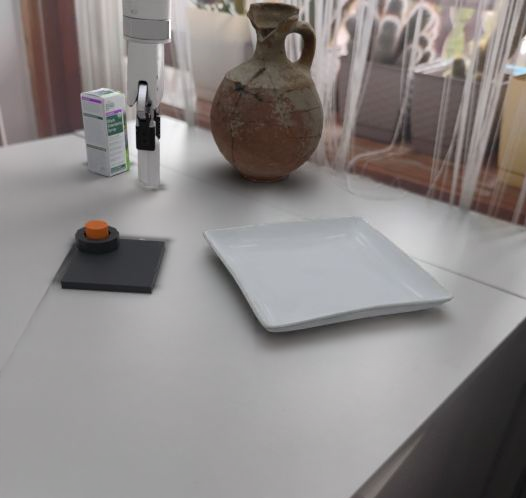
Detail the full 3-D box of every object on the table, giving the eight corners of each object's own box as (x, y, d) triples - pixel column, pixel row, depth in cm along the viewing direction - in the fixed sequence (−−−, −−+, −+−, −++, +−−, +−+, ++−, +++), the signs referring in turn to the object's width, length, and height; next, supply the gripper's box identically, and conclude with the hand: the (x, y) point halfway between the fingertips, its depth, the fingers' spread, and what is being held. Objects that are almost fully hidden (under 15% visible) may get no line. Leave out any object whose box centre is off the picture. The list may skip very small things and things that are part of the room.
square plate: (199, 251, 96) (200, 227, 94) (357, 234, 105) (361, 212, 103) (263, 350, 76) (265, 323, 73) (451, 318, 85) (459, 293, 82)
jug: (187, 167, 126) (187, -3, 109) (266, 150, 138) (277, -5, 121) (259, 202, 113) (272, 17, 96) (339, 180, 126) (363, 12, 109)
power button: (83, 239, 91) (82, 228, 90) (88, 230, 93) (87, 219, 92) (106, 241, 91) (105, 229, 90) (110, 231, 93) (109, 220, 92)
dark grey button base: (57, 288, 84) (54, 268, 82) (83, 241, 96) (81, 223, 94) (151, 294, 84) (150, 274, 83) (165, 246, 96) (165, 228, 95)
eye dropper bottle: (133, 186, 111) (132, 116, 104) (139, 175, 115) (138, 107, 109) (158, 188, 111) (158, 118, 104) (163, 177, 116) (163, 110, 109)
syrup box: (110, 177, 118) (104, 97, 110) (86, 170, 121) (79, 91, 112) (130, 170, 122) (126, 92, 114) (107, 163, 125) (101, 86, 116)
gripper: (132, 19, 106) (135, 128, 116) (112, 35, 92) (117, 158, 102) (177, 24, 106) (175, 132, 117) (163, 40, 92) (163, 162, 103)
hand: (148, 143), depth 109 cm, fingers closed on eye dropper bottle, 5 cm apart
